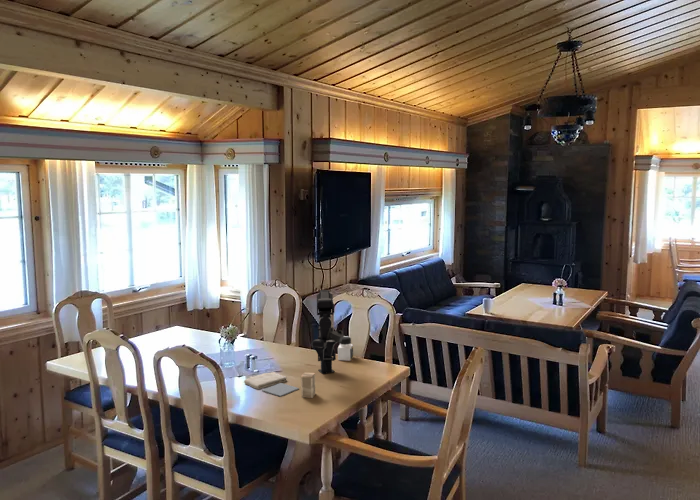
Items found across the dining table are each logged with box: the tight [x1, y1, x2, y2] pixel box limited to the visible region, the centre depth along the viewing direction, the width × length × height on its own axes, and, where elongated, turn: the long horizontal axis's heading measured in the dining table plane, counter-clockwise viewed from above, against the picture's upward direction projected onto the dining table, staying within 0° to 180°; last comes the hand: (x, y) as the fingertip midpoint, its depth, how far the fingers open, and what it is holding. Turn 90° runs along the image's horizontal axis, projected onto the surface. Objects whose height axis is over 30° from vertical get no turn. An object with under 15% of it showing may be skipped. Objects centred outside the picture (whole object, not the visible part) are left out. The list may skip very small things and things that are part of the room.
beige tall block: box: [300, 372, 316, 399], centre depth 267 cm, size 5×5×10 cm
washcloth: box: [243, 371, 288, 390], centre depth 286 cm, size 12×18×3 cm, turn 132°
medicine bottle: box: [337, 335, 354, 362], centre depth 320 cm, size 7×7×12 cm
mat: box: [261, 382, 300, 397], centre depth 274 cm, size 12×12×1 cm
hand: (326, 358), depth 281 cm, fingers open, 9 cm apart
